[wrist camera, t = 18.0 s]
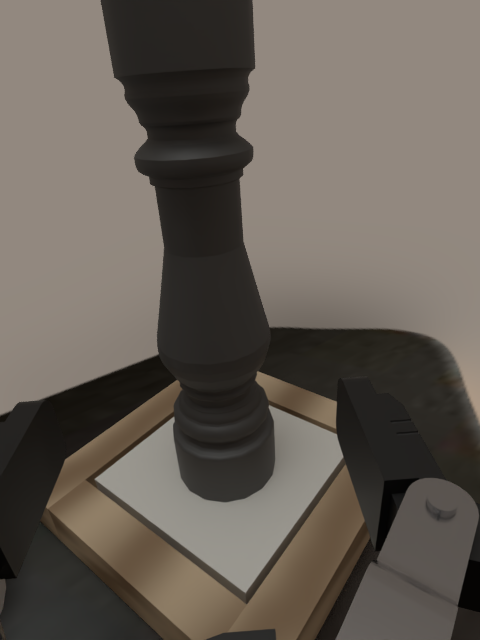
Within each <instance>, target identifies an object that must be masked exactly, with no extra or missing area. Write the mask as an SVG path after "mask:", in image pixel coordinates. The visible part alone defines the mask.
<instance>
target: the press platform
mask: <svg viewBox="0 0 480 640" xmlns="http://www.w3.org/2000/svg"><path fill="white" fill-rule="evenodd" d="M268 408H269V410H270V412H271V415H272V418H273V420H274V437H275V465H274V470H273V475H272V476H271V478H270V479H269V480H268V482H267V483H266V484H265V486H264V487H263V488H262V489H261V490H259V491H257V492H256V493H254V494H252V495H251V496H249V497H247V498H245V499H240V500H235V501H230V502H218V501H211V500H205V499H203V498H201V497H200V496H198V495H196V494H194V493H192V492H191V491H189V489H188V488H187V486H186V485H185V483H184V482H183V480H182V479H181V476H180V470H179V465H178V459H177V454H176V449H175V443H174V435H173V424H174V422H175V419H174V417H173V418H172V419H170V420H169V421H168V422H167V423H165V424H164V425H163V426H161V427H160V428H159V429H158V430H156V431H155V432H154V433H153V434H151V435H150V436H149V437H147V438H146V439H145V440H144V441H142V442H141V443H140V444H139V445H137V446H136V447H135V448H134V449H132V450H131V451H130V452H128V453H127V454H126V455H125V456H123V457H122V458H121V459H120V460H118V461H117V462H116V463H114V464H113V465H112V466H111V467H109V468H108V469H107V470H106V471H104V472H103V473H102V474H101V475H99V476H98V477H97V478H95V482H96V485H97V488H98V490H99V491H101V492H102V493H103V494H104V495H106V496H107V497H108V498H110V499H111V500H112V501H114V502H115V503H116V504H117V505H119V506H120V507H121V508H123V509H124V510H125V511H126V512H128V513H129V514H130V515H132V516H133V517H134V518H136V519H137V520H138V521H139V522H141V523H142V524H143V525H145V526H146V527H147V528H148V529H150V530H151V531H152V532H154V533H155V534H156V535H158V536H159V537H160V538H161V539H163V540H164V541H165V542H167V543H168V544H169V545H171V546H172V547H173V548H174V549H176V550H177V551H178V552H180V553H181V554H182V555H183V556H185V557H186V558H187V559H189V560H190V561H191V562H193V563H194V564H195V565H196V566H198V567H199V568H200V569H202V570H203V571H204V572H205V573H207V574H208V575H209V576H211V577H212V578H213V579H215V580H216V581H217V582H218V583H220V584H221V585H222V586H224V587H225V588H226V589H228V590H229V591H230V592H231V593H233V594H234V595H235V596H237V597H238V598H239V599H240V600H242V601H243V602H244V603H246V604H248V602H249V601H250V600H251V598H252V597H253V595H254V594H255V593H256V591H257V590H258V588H259V587H260V585H261V584H262V583H263V581H264V580H265V578H266V577H267V575H268V574H269V573H270V571H271V570H272V568H273V567H274V565H275V564H276V563H277V561H278V560H279V558H280V557H281V555H282V554H283V553H284V551H285V550H286V548H287V547H288V545H289V544H290V543H291V541H292V540H293V538H294V537H295V535H296V534H297V533H298V531H299V530H300V528H301V527H302V525H303V524H304V523H305V521H306V520H307V518H308V517H309V515H310V514H311V513H312V511H313V510H314V508H315V507H316V505H317V504H318V503H319V501H320V500H321V498H322V497H323V495H324V494H325V493H326V491H327V490H328V488H329V487H330V485H331V484H332V483H333V481H334V480H335V478H336V477H337V476H338V474H339V473H340V471H341V470H342V468H343V467H344V466H345V464H346V463H345V460H344V457H343V454H342V451H341V448H340V445H339V441H338V437H337V434H335V433H332V432H330V431H328V430H325V429H323V428H321V427H319V426H316V425H314V424H312V423H309V422H307V421H305V420H302V419H300V418H298V417H295V416H293V415H291V414H288V413H286V412H284V411H282V410H279V409H277V408H275V407H272V406H270V405H269V407H268Z"/></svg>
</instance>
